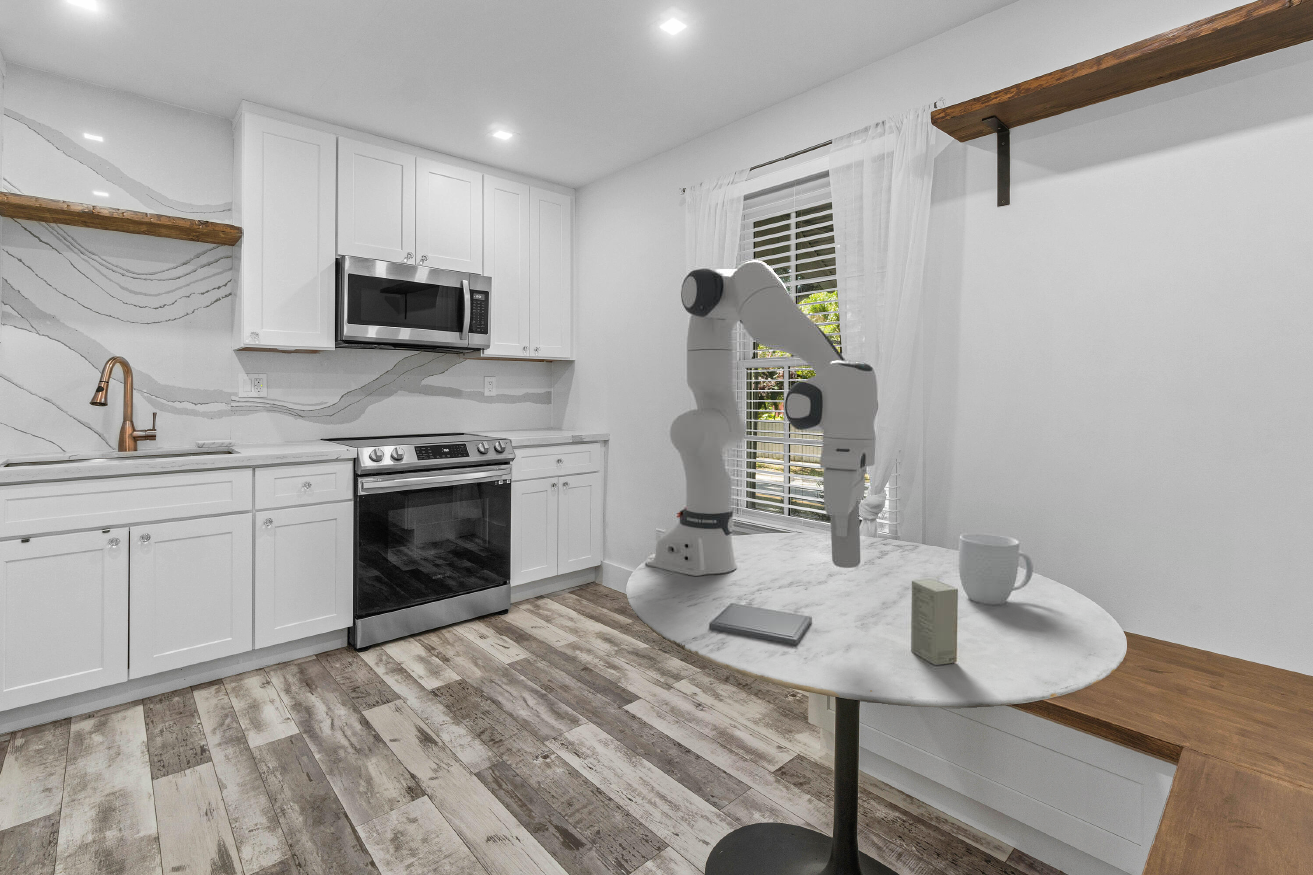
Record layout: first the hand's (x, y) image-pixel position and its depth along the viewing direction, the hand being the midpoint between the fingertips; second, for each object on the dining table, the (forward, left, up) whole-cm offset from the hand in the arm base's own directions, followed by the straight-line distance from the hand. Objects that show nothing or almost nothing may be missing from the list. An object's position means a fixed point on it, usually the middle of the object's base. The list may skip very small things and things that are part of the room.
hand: (845, 531), depth 107 cm
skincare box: (+15, -2, -19) cm, 24 cm away
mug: (+25, +34, -19) cm, 46 cm away
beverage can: (0, 0, -6) cm, 6 cm away
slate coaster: (-14, -2, -19) cm, 24 cm away
